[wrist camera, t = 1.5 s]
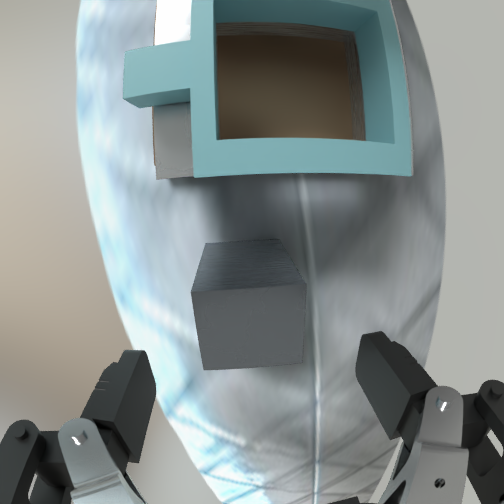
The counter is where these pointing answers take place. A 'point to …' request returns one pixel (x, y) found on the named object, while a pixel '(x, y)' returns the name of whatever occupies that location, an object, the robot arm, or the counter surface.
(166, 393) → the counter surface
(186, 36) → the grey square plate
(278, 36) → the foot plate
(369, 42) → the bracket head
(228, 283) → the brushed steel block
